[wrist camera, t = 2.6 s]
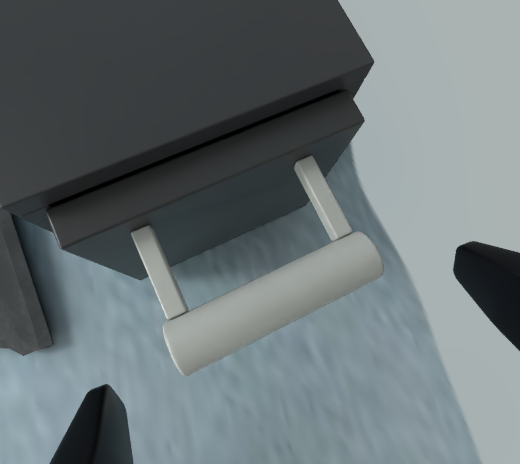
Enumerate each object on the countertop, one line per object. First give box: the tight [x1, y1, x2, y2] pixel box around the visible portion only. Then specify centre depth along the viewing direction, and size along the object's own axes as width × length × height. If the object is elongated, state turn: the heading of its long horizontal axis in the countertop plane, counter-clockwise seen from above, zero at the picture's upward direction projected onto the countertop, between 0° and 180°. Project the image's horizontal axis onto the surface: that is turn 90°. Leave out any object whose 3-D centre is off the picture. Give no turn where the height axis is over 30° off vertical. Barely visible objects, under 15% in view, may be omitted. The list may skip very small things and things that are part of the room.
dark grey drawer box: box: [0, 0, 374, 233], centre depth 16 cm, size 13×11×11 cm
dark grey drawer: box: [46, 90, 384, 376], centre depth 15 cm, size 16×9×9 cm, turn 26°
